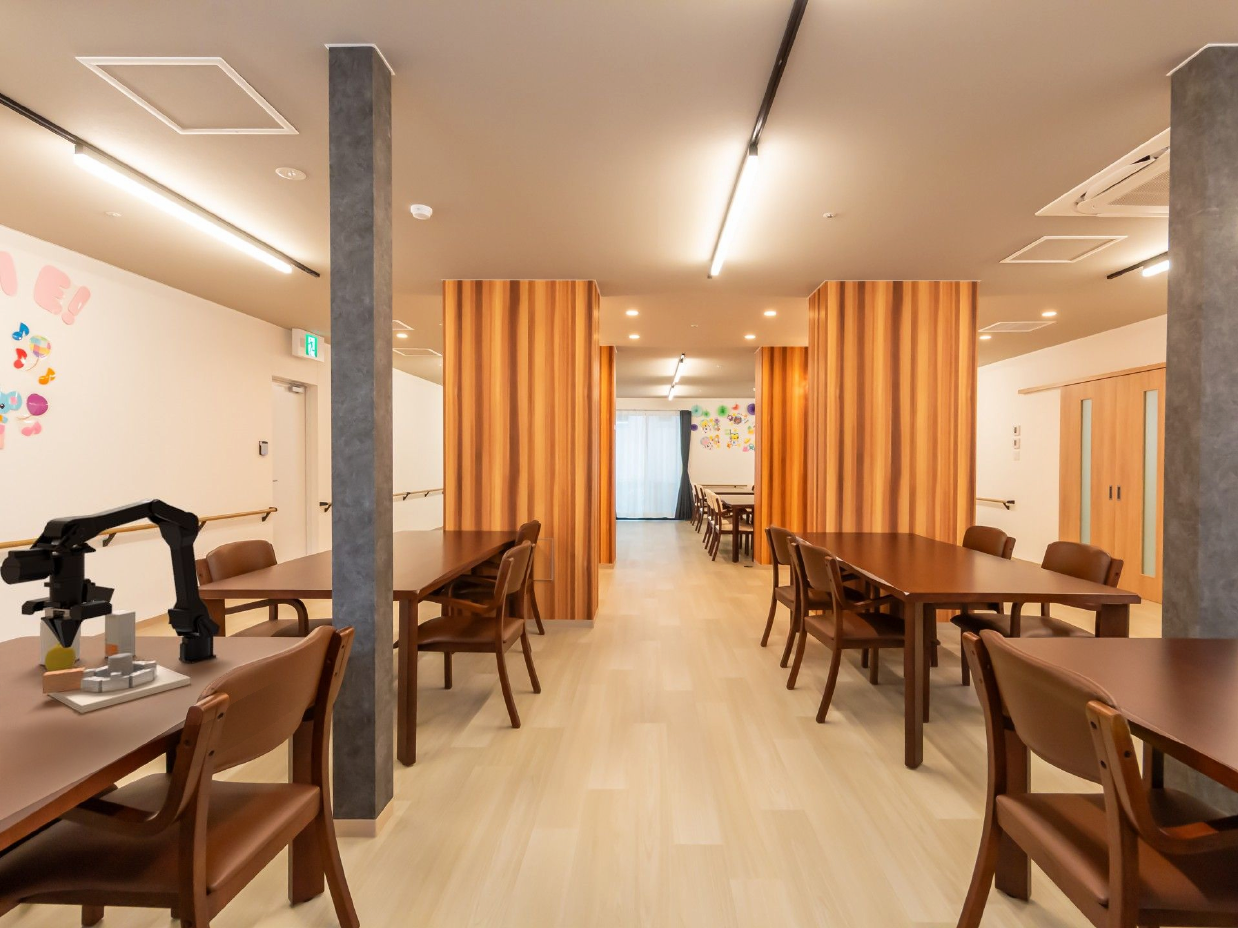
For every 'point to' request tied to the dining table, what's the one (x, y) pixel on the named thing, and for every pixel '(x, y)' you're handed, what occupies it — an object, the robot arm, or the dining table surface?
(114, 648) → the skincare box
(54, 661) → the lemon
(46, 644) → the pill bottle
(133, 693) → the base board
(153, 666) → the toy block set
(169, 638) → the dining table surface
